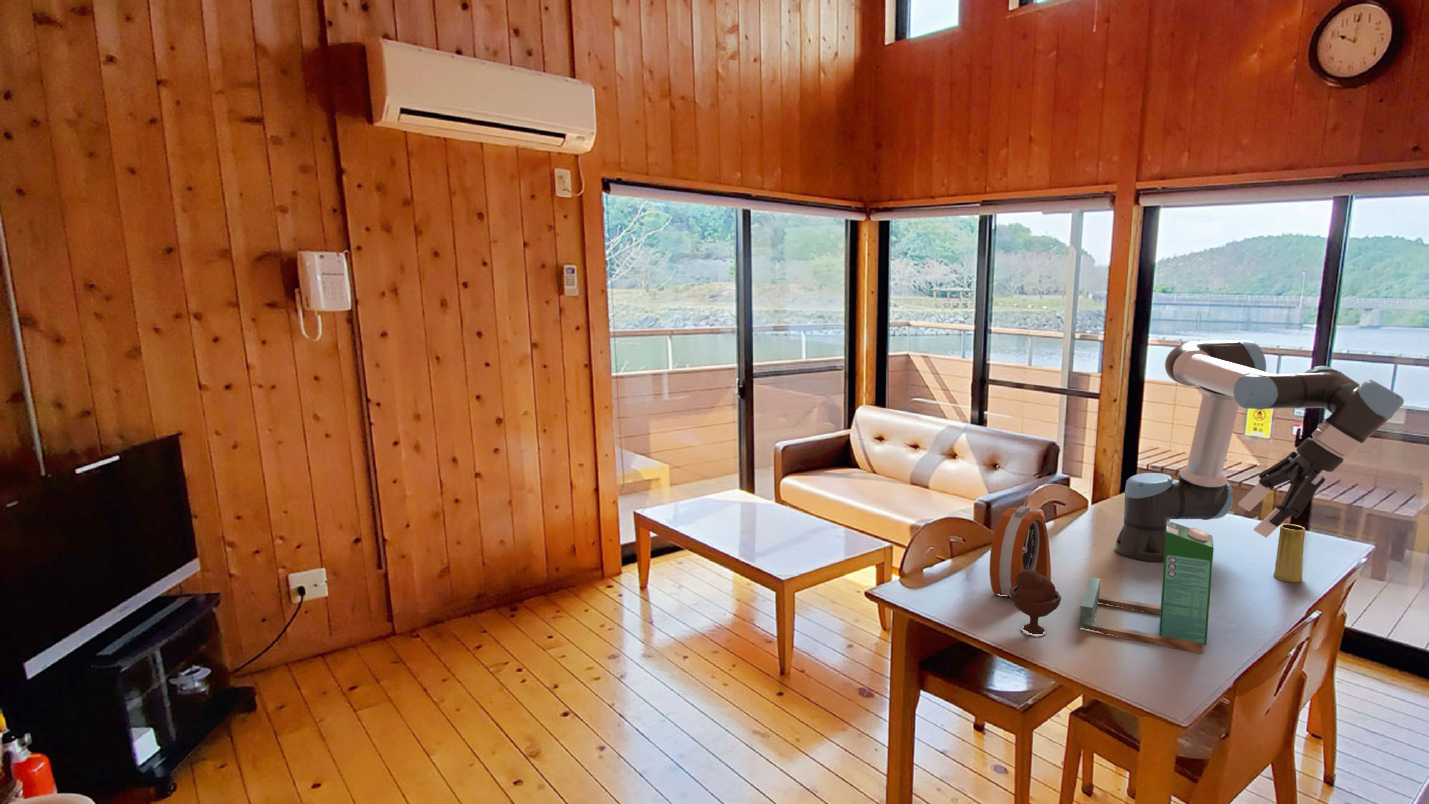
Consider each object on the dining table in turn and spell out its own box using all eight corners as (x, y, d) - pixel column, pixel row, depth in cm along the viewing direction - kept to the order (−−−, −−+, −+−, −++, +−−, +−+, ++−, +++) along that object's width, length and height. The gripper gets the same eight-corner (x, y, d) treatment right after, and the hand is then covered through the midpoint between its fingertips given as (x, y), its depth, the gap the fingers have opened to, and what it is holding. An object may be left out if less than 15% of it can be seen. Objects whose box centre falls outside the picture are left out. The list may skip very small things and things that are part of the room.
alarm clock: (1026, 609, 185) (1029, 522, 181) (987, 599, 191) (989, 515, 188) (1056, 581, 201) (1059, 501, 197) (1019, 572, 207) (1022, 495, 204)
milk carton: (1206, 645, 164) (1214, 537, 160) (1159, 636, 169) (1165, 531, 165) (1205, 628, 172) (1213, 525, 168) (1160, 620, 176) (1166, 519, 172)
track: (1199, 618, 176) (1201, 595, 175) (1201, 653, 161) (1203, 627, 160) (1087, 599, 189) (1088, 577, 188) (1079, 629, 173) (1080, 605, 172)
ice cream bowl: (1035, 646, 166) (1037, 583, 164) (998, 626, 176) (1000, 566, 174) (1069, 636, 170) (1072, 574, 168) (1031, 617, 180) (1033, 558, 178)
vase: (1307, 583, 194) (1312, 531, 191) (1280, 582, 195) (1285, 530, 193) (1294, 574, 200) (1299, 523, 197) (1268, 573, 201) (1273, 522, 199)
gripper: (1291, 419, 166) (1222, 489, 176) (1331, 457, 144) (1250, 534, 153) (1323, 438, 165) (1252, 507, 174) (1369, 479, 143) (1284, 556, 152)
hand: (1251, 520), depth 164 cm, fingers open, 13 cm apart
